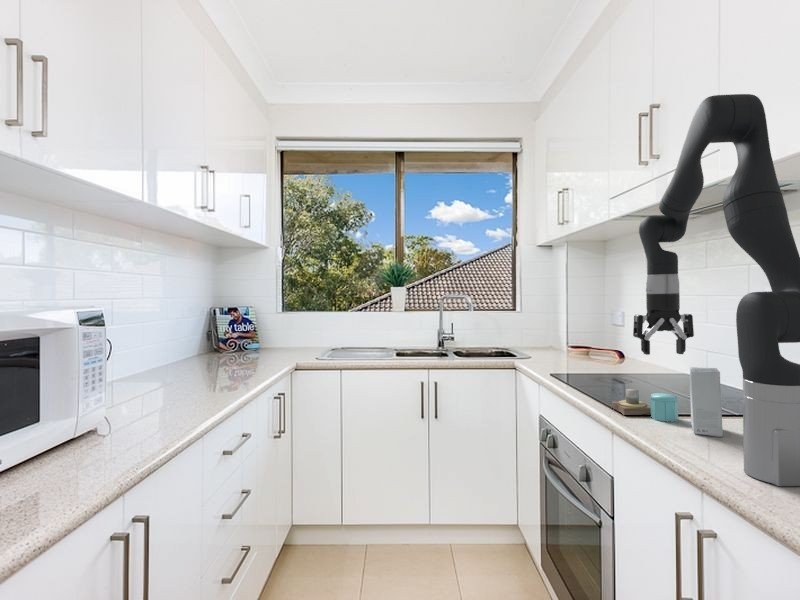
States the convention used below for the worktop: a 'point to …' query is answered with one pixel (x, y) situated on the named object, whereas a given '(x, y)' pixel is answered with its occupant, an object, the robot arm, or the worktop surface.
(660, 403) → the cap
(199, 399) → the worktop surface
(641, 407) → the board
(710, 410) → the skincare box
